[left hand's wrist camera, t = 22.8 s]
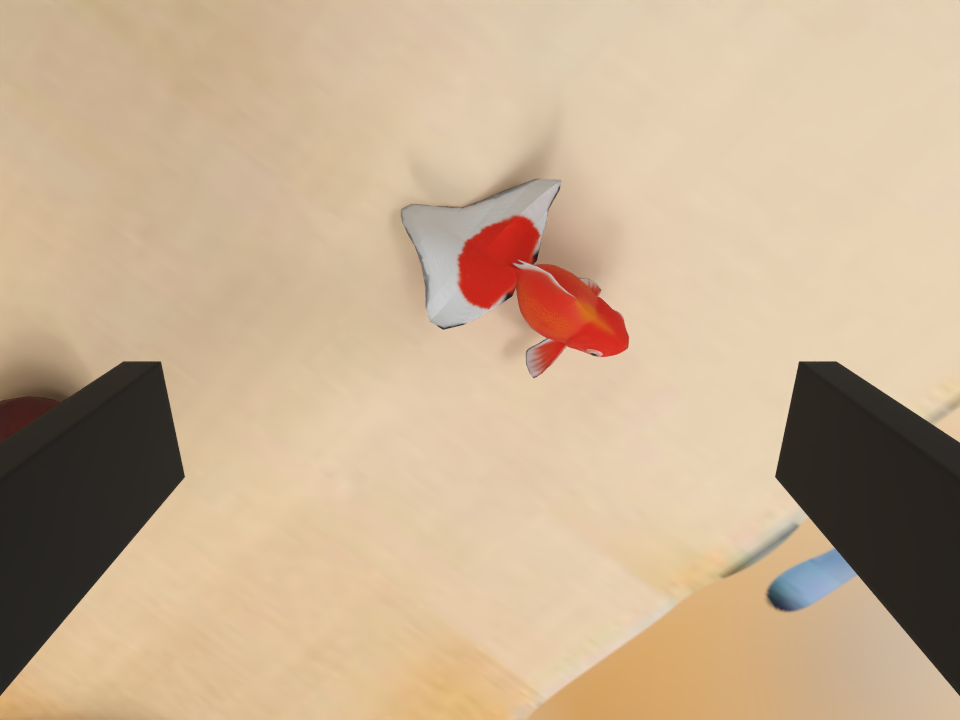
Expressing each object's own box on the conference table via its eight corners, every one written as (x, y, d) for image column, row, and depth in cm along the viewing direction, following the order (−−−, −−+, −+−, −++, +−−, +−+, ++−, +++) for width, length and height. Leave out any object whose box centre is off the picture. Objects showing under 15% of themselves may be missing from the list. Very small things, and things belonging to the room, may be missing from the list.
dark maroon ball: (-14, 427, 45) (-98, 478, 39) (39, 359, 43) (-40, 401, 37) (73, 486, 47) (6, 544, 40) (127, 423, 45) (67, 474, 38)
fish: (519, 439, 40) (527, 427, 30) (379, 267, 43) (345, 206, 33) (639, 340, 41) (684, 298, 31) (496, 179, 44) (496, 93, 34)
